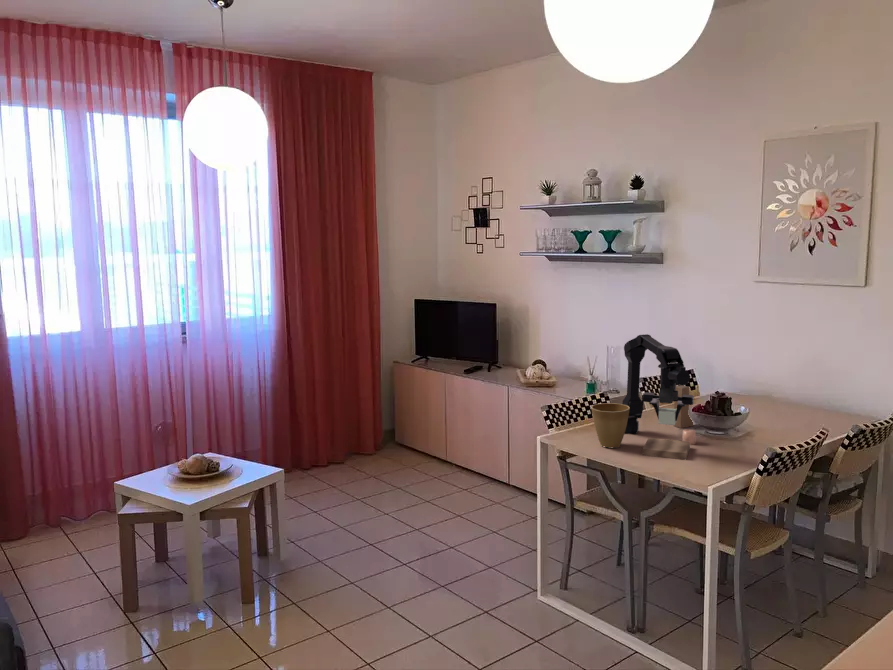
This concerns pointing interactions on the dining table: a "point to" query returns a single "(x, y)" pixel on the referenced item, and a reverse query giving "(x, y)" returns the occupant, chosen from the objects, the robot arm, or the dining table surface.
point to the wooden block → (682, 409)
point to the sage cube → (667, 416)
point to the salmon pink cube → (689, 436)
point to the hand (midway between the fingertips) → (667, 420)
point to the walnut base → (666, 448)
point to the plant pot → (610, 423)
